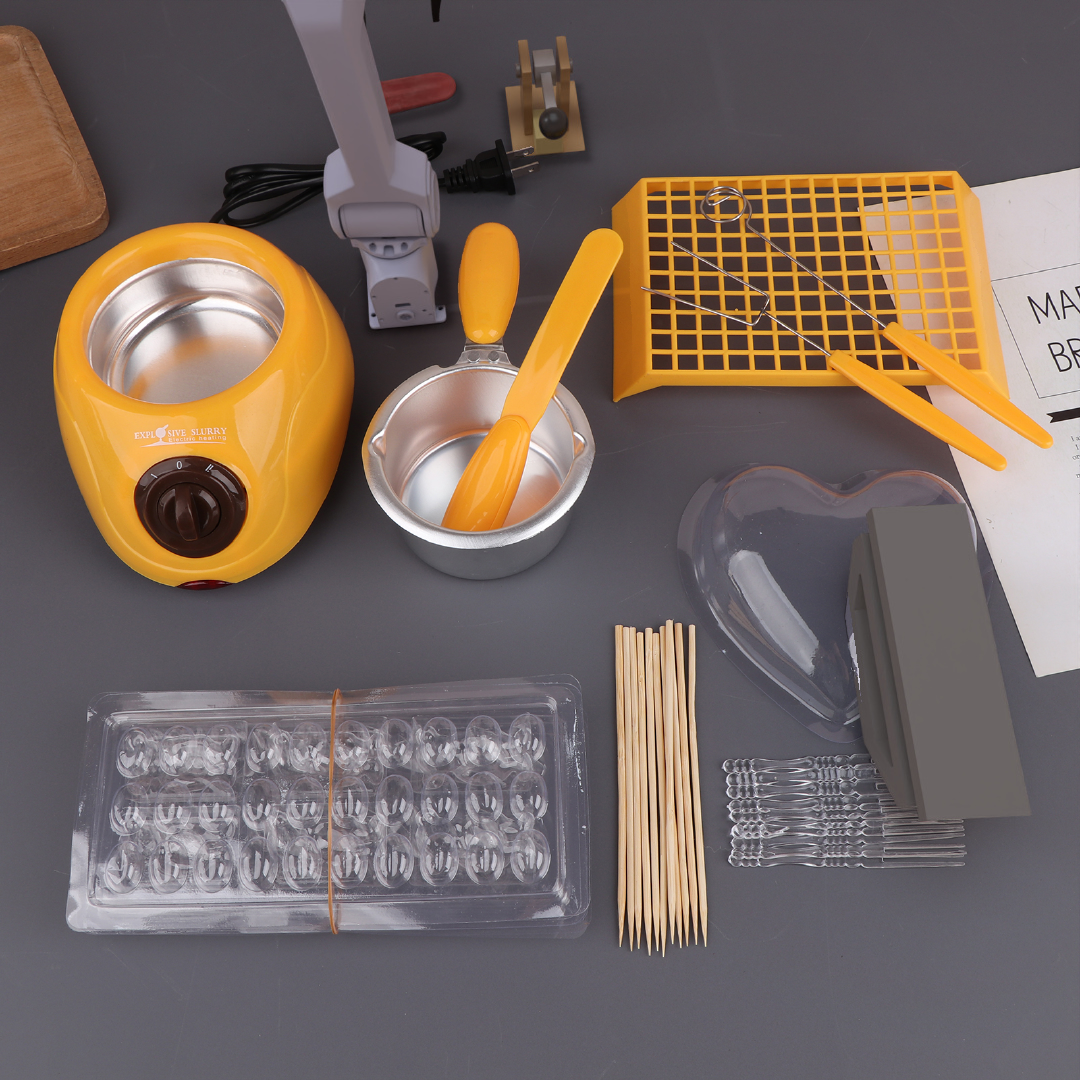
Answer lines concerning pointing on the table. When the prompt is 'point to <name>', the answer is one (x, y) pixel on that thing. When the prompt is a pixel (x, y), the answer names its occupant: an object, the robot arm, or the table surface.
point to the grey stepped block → (931, 667)
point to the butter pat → (542, 142)
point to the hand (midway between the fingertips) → (399, 18)
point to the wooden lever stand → (531, 98)
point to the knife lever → (548, 95)
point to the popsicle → (417, 91)
